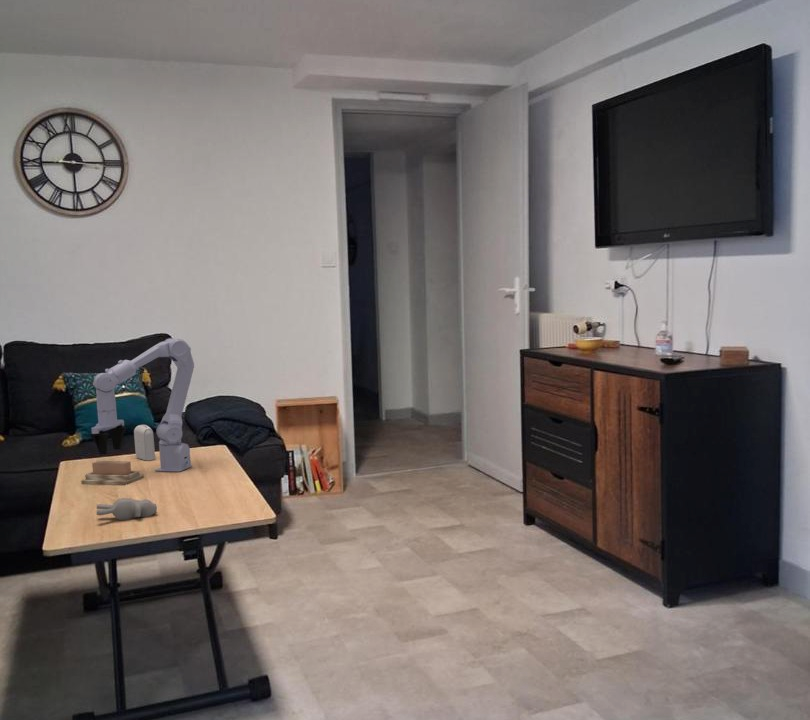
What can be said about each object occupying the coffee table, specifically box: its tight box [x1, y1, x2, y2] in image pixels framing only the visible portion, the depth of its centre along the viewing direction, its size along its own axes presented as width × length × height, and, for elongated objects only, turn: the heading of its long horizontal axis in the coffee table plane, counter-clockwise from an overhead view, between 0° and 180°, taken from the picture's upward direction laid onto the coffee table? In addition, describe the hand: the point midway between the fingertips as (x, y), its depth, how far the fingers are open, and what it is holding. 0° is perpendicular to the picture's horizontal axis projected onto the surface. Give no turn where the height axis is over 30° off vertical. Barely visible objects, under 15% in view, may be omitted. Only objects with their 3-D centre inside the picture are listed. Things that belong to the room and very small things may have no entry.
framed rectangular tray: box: [80, 470, 144, 486], centre depth 261 cm, size 16×10×2 cm, turn 75°
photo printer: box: [133, 424, 156, 461], centre depth 294 cm, size 10×4×12 cm, turn 39°
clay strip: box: [91, 460, 132, 475], centre depth 261 cm, size 12×3×5 cm, turn 75°
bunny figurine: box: [96, 497, 158, 521], centre depth 216 cm, size 10×5×15 cm
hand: (110, 451), depth 263 cm, fingers open, 7 cm apart
